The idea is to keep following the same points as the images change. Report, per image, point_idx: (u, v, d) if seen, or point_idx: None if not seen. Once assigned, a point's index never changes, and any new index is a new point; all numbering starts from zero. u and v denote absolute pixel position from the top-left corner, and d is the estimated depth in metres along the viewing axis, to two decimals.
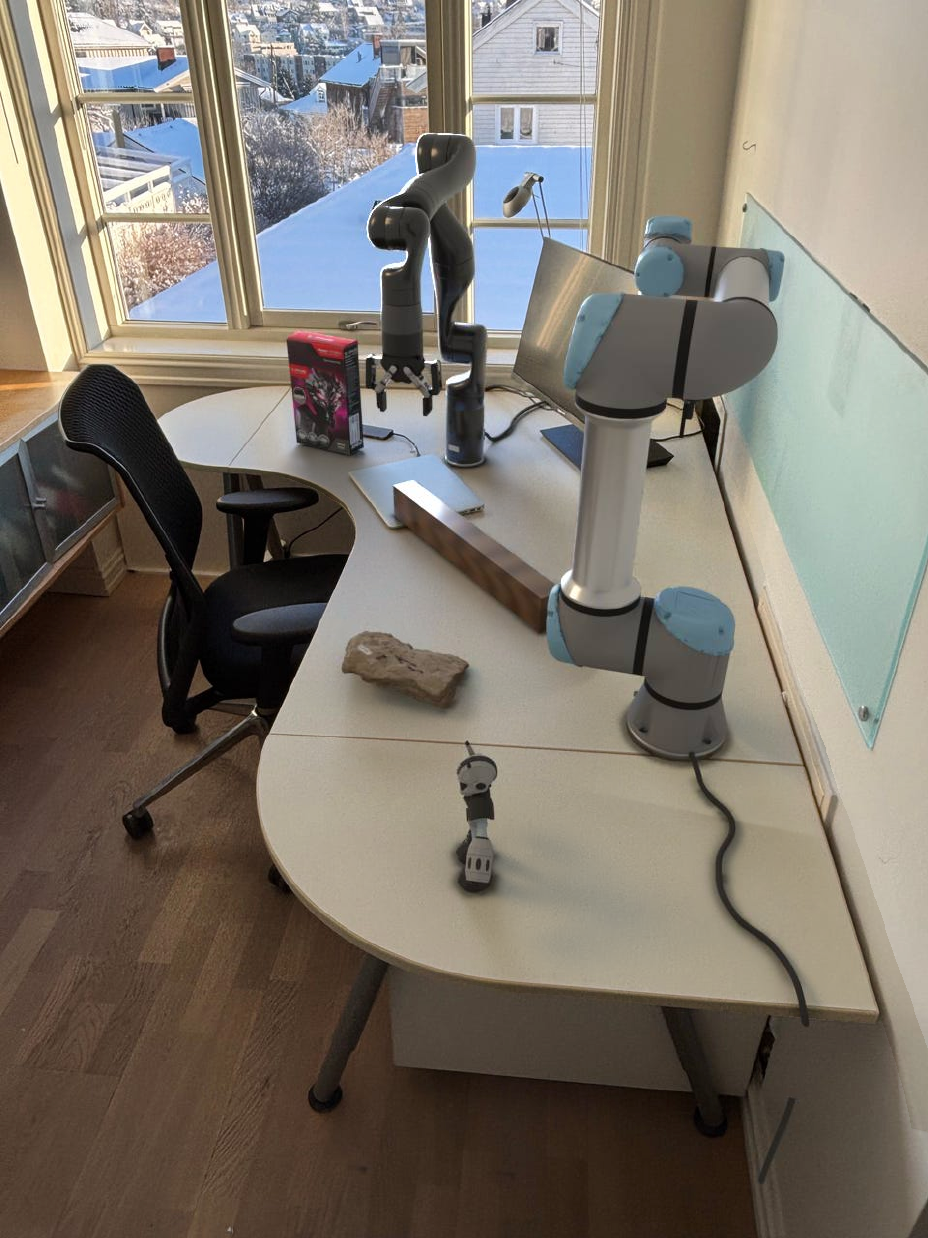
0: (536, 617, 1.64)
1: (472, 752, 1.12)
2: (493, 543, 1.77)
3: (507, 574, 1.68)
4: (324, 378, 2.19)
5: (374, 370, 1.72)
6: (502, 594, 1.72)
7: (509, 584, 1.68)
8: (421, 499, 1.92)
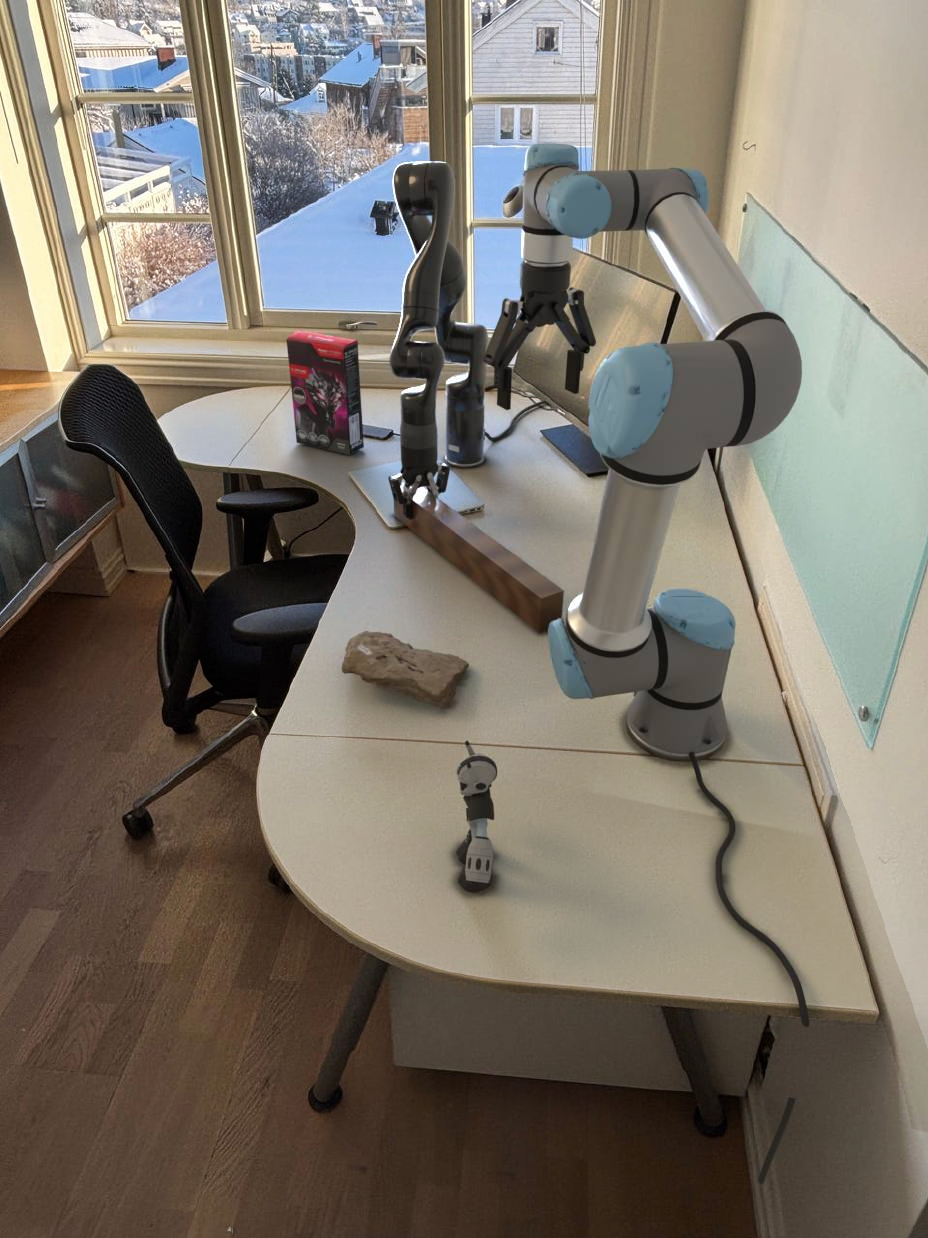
0: (536, 617, 1.64)
1: (472, 752, 1.12)
2: (493, 543, 1.77)
3: (507, 574, 1.68)
4: (324, 378, 2.19)
5: None
6: (502, 594, 1.72)
7: (509, 584, 1.68)
8: (421, 499, 1.92)
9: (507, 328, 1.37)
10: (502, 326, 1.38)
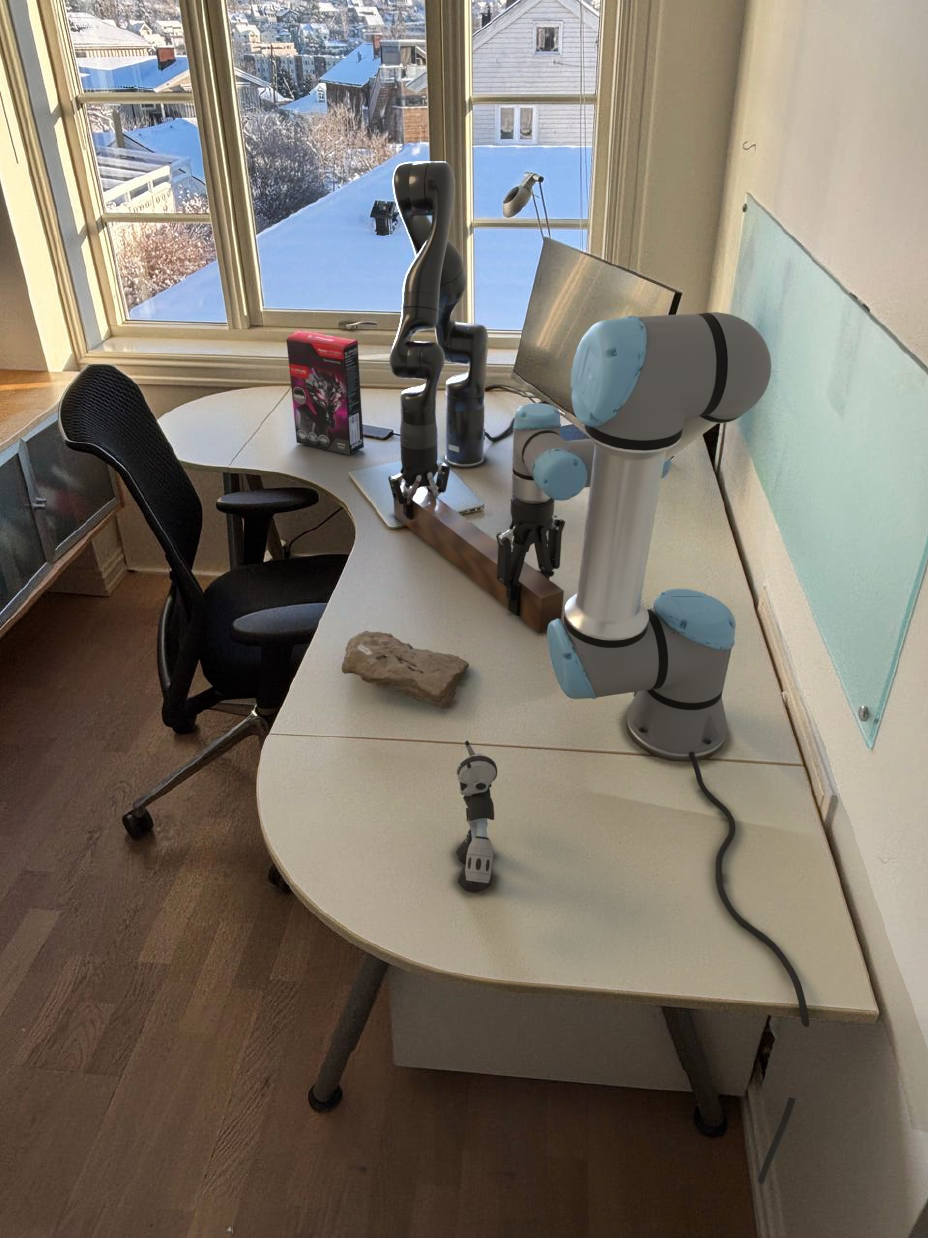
0: (536, 617, 1.64)
1: (472, 752, 1.12)
2: (493, 543, 1.77)
3: None
4: (324, 378, 2.19)
5: None
6: (502, 594, 1.72)
7: None
8: (421, 499, 1.92)
9: (506, 557, 1.60)
10: (502, 556, 1.61)
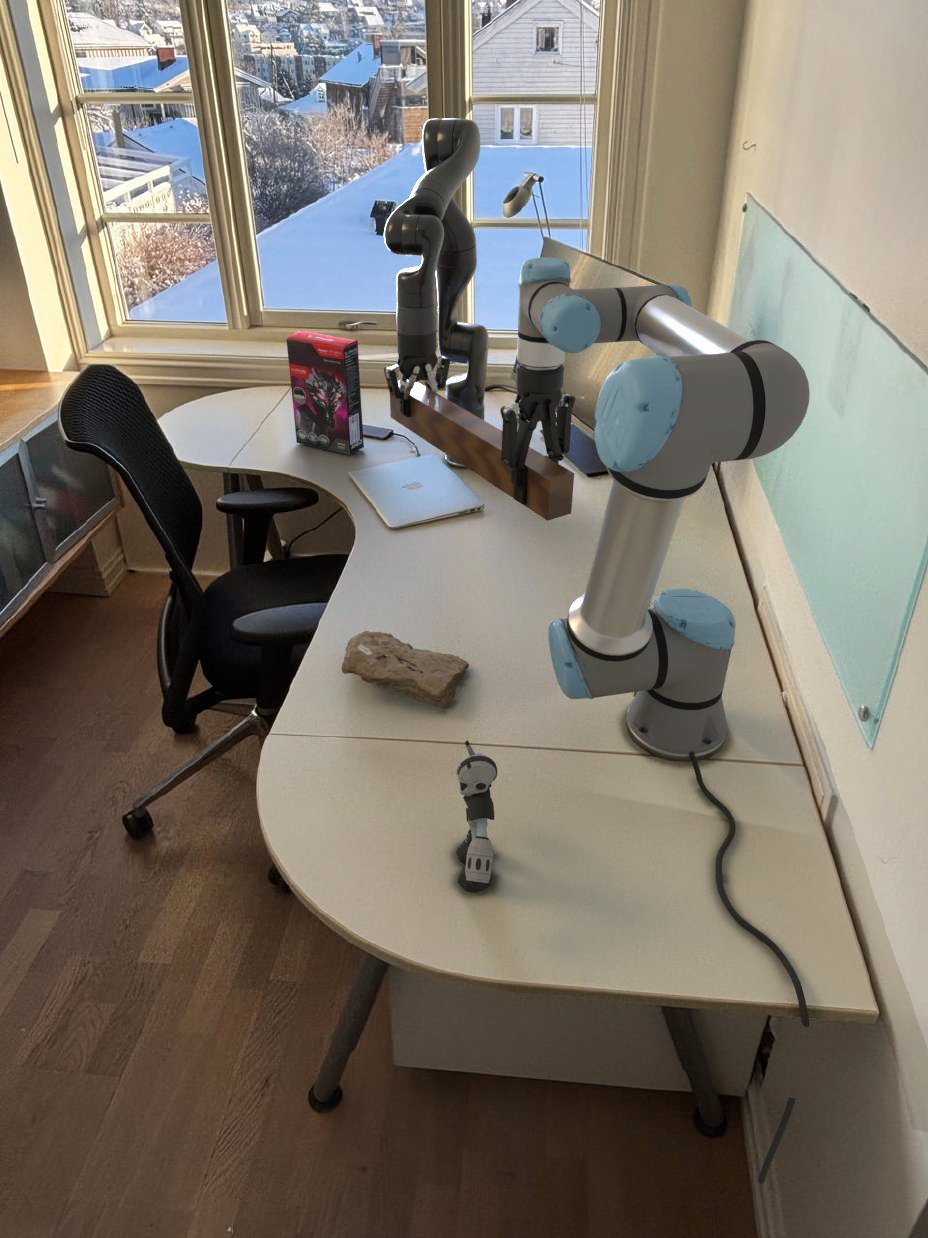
0: (545, 503, 1.51)
1: (472, 752, 1.12)
2: (497, 432, 1.64)
3: None
4: (324, 378, 2.19)
5: None
6: (507, 483, 1.59)
7: None
8: (419, 394, 1.79)
9: (512, 434, 1.47)
10: (507, 432, 1.48)
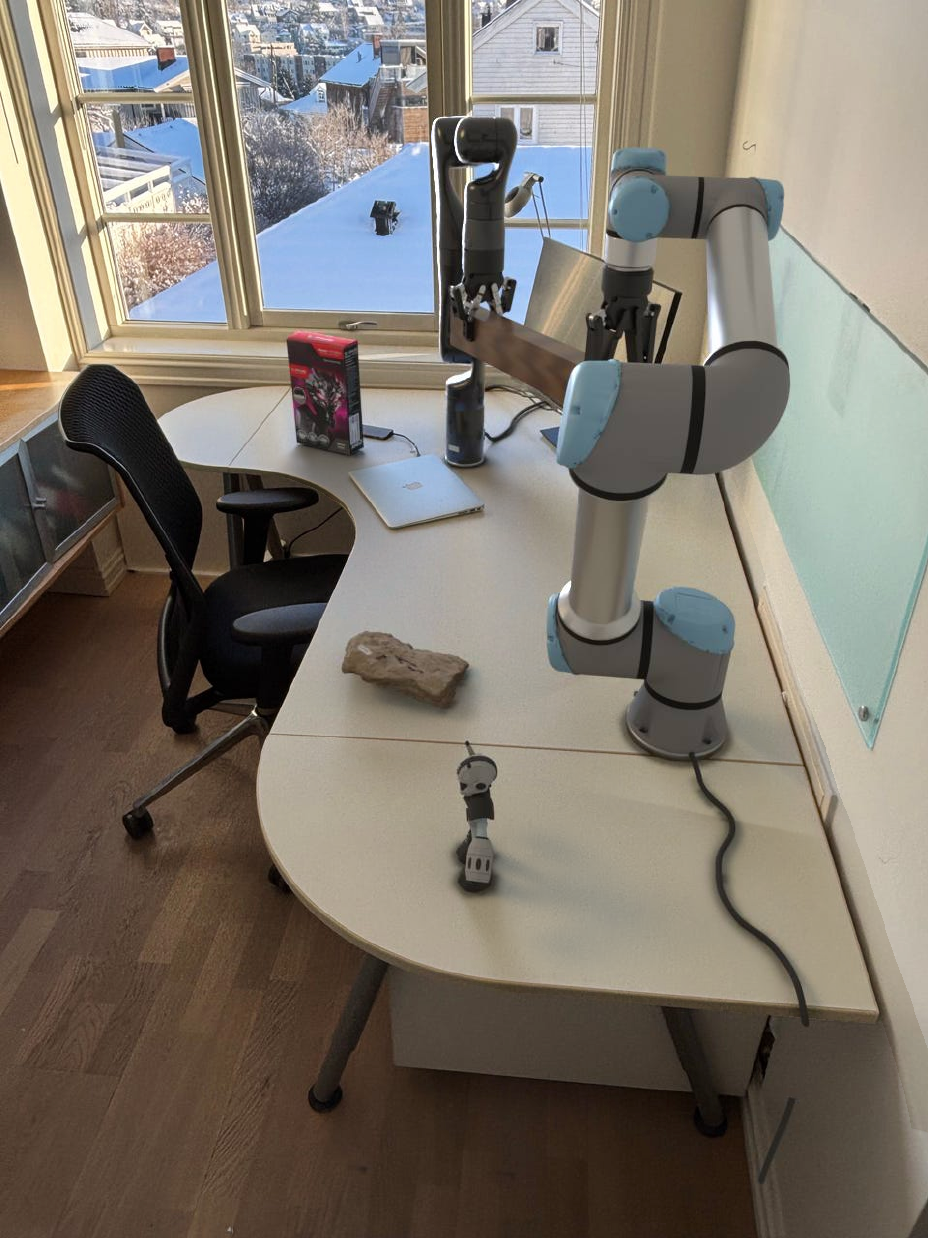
0: None
1: (472, 752, 1.12)
2: (572, 349, 1.55)
3: None
4: (324, 378, 2.19)
5: None
6: None
7: None
8: (484, 316, 1.70)
9: (598, 342, 1.38)
10: (592, 341, 1.38)
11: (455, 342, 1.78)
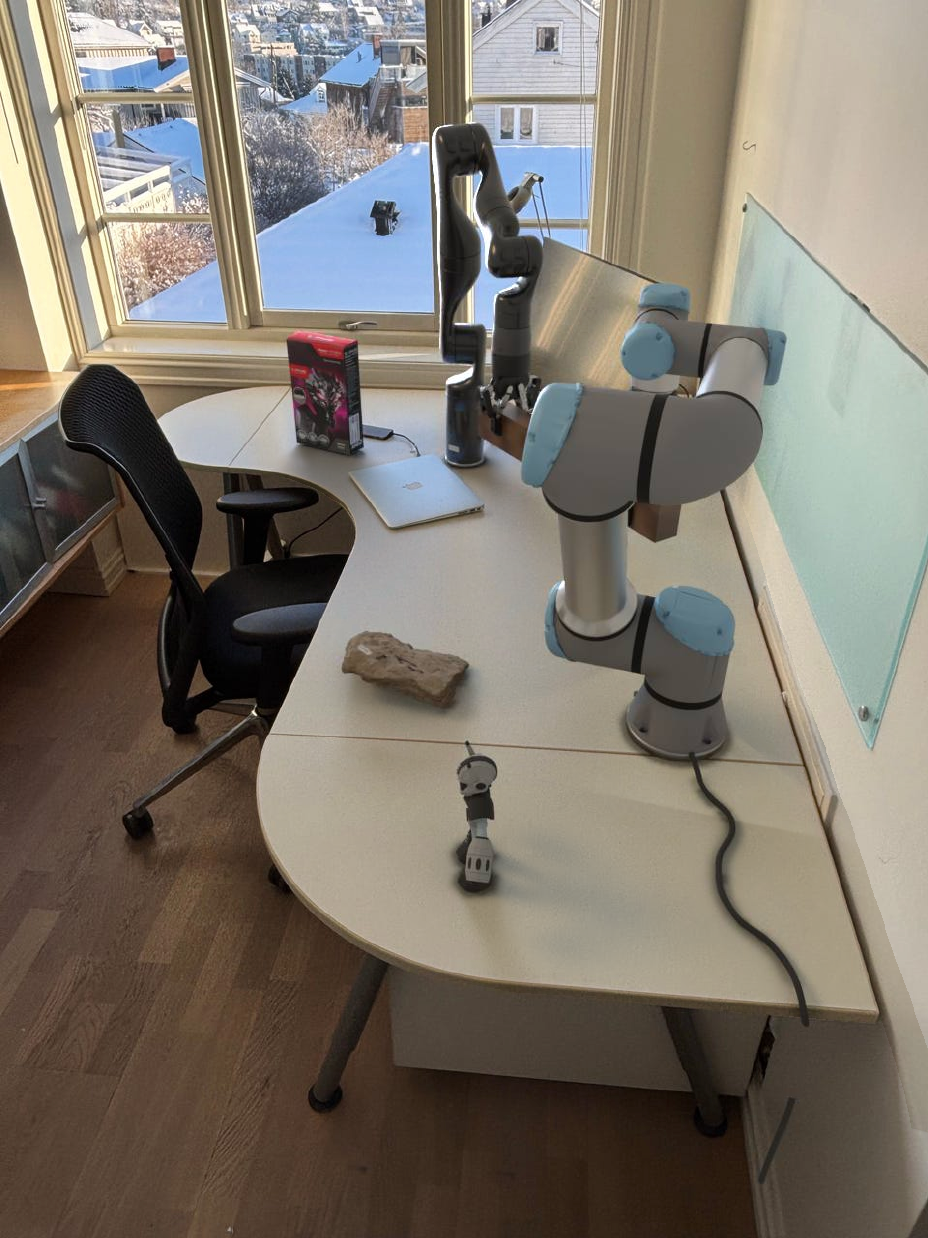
0: (653, 525, 1.52)
1: (472, 752, 1.12)
2: None
3: None
4: (324, 378, 2.19)
5: None
6: None
7: None
8: (511, 413, 1.80)
9: None
10: None
11: (483, 434, 1.88)
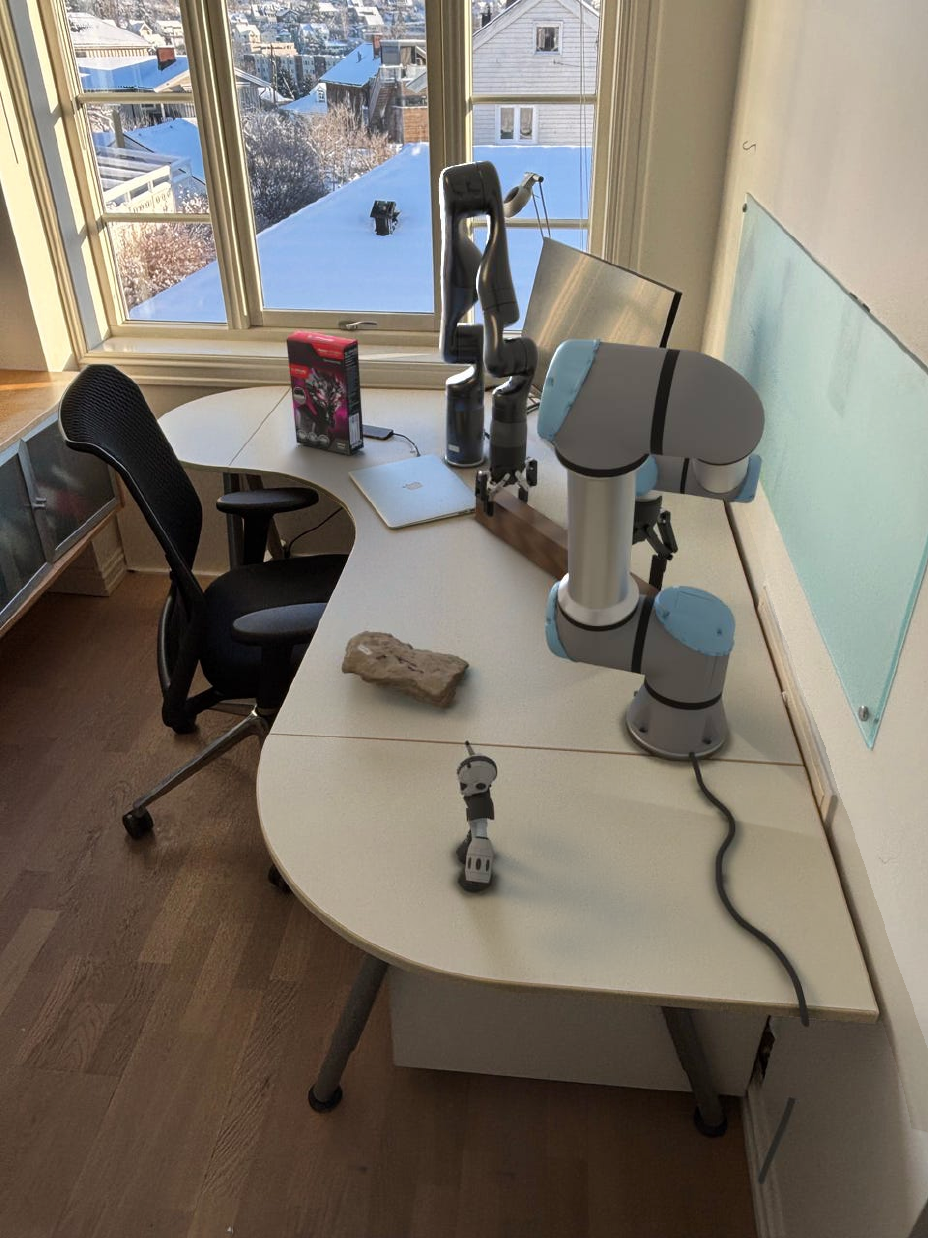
0: None
1: (472, 752, 1.12)
2: None
3: None
4: (324, 378, 2.19)
5: None
6: None
7: None
8: (506, 502, 1.91)
9: None
10: None
11: (480, 518, 1.99)
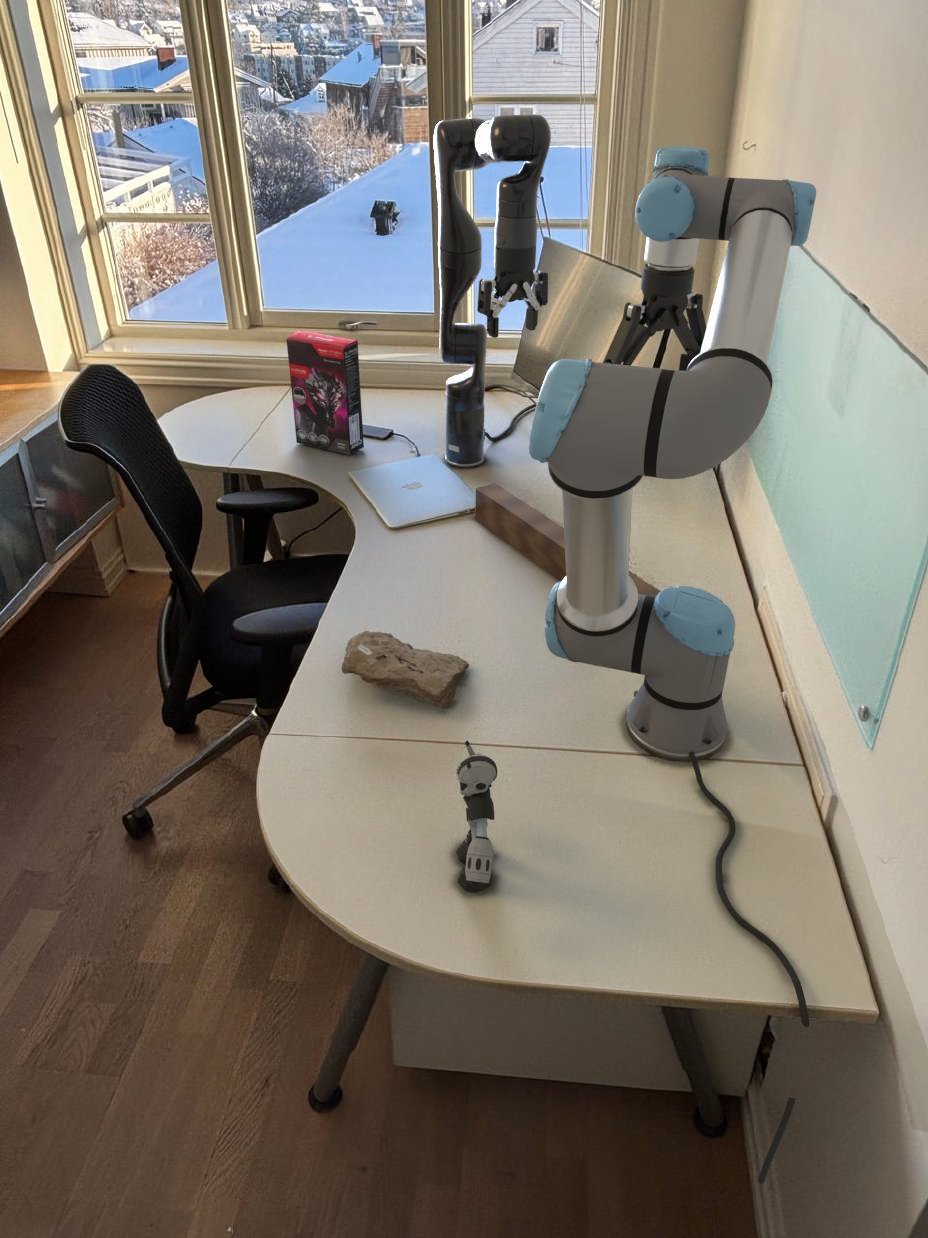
0: None
1: (472, 752, 1.12)
2: None
3: None
4: (324, 378, 2.19)
5: None
6: None
7: None
8: (506, 502, 1.91)
9: (629, 332, 1.36)
10: (624, 330, 1.36)
11: (480, 518, 1.99)
